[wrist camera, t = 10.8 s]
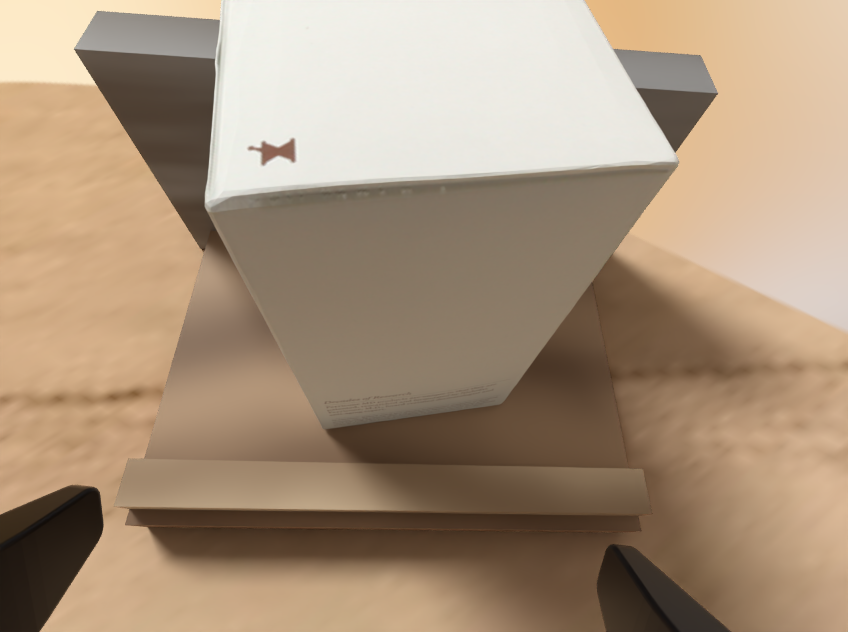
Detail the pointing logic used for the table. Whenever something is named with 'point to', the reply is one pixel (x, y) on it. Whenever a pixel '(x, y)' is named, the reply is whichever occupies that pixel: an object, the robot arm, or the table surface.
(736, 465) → the table surface
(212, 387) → the ledge
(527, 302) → the supplement box
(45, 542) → the robot arm
